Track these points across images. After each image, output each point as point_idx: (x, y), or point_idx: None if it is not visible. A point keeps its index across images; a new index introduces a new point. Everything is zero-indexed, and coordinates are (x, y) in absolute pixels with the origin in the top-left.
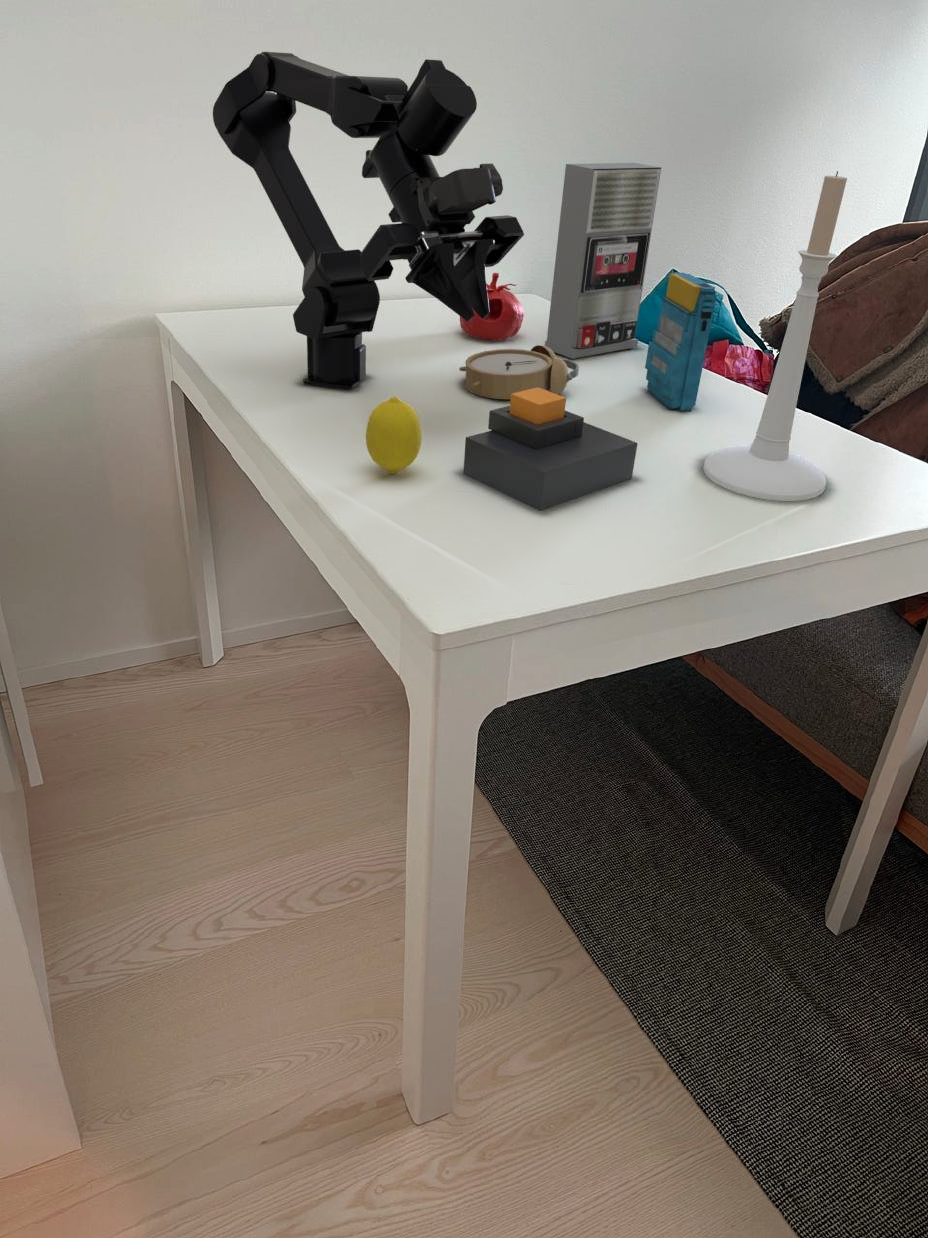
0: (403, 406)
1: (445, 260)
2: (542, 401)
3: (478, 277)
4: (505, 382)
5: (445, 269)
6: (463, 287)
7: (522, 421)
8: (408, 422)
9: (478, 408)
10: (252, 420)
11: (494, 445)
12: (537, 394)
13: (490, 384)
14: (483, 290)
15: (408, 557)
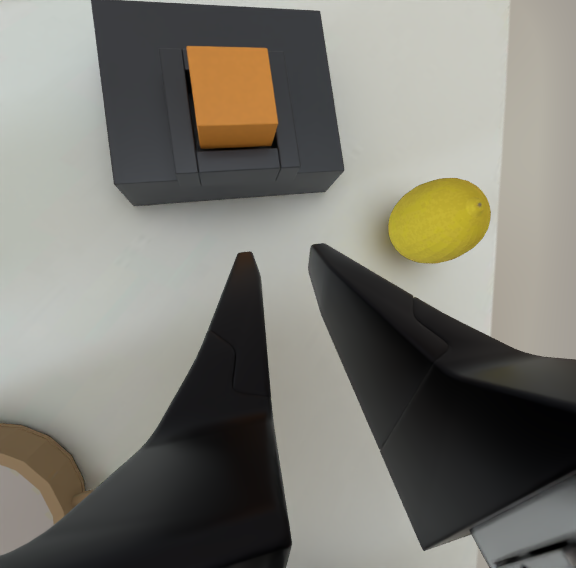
0: (465, 189)
1: (545, 364)
2: (250, 55)
3: (260, 337)
4: (34, 456)
5: (498, 346)
6: (364, 295)
7: (282, 94)
8: (451, 178)
9: (134, 419)
10: None
11: (325, 121)
12: (230, 91)
13: (62, 476)
14: (244, 297)
15: (477, 61)
